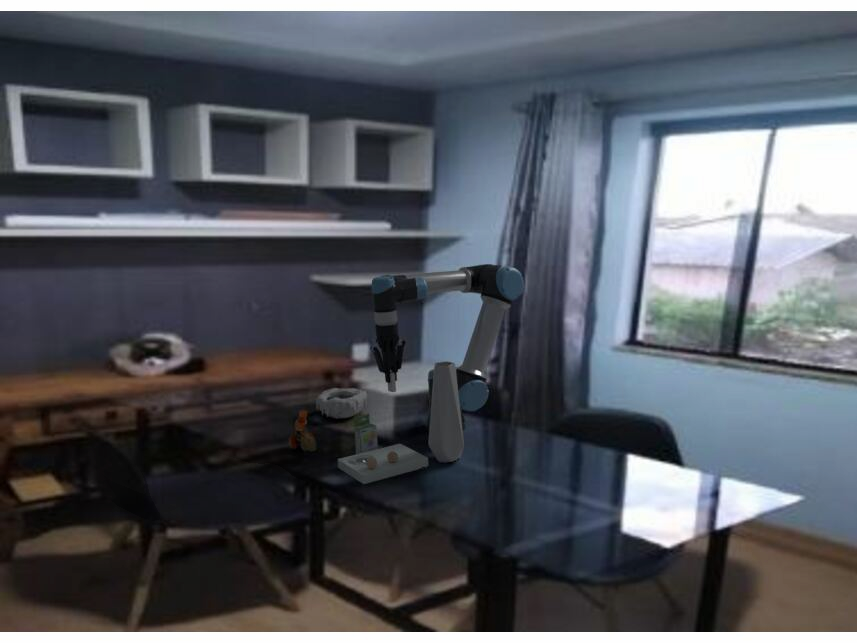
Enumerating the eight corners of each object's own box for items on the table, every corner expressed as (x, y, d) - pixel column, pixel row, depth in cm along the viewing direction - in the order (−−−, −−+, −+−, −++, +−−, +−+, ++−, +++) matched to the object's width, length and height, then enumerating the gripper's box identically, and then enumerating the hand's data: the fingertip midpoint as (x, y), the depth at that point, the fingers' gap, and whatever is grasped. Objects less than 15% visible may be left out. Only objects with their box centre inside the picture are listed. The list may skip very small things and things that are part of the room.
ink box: (362, 457, 267) (359, 420, 264) (355, 454, 270) (353, 417, 267) (378, 452, 271) (376, 415, 269) (371, 449, 274) (369, 413, 272)
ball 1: (374, 465, 250) (373, 455, 250) (379, 468, 248) (378, 458, 247) (364, 467, 249) (363, 457, 248) (369, 471, 246) (369, 460, 245)
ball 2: (394, 459, 255) (394, 449, 254) (400, 462, 252) (399, 452, 252) (385, 461, 253) (384, 451, 253) (390, 464, 250) (390, 454, 250)
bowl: (365, 423, 304) (364, 398, 302) (313, 425, 305) (311, 400, 303) (370, 407, 325) (368, 384, 323) (321, 409, 325) (319, 386, 323)
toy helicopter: (310, 442, 284) (307, 406, 282) (327, 460, 266) (324, 421, 263) (288, 446, 281) (285, 410, 279) (303, 464, 262) (300, 425, 260)
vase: (455, 468, 253) (451, 369, 247) (425, 462, 259) (420, 366, 253) (473, 456, 263) (470, 361, 257) (443, 451, 269) (440, 358, 263)
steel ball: (364, 457, 258) (355, 457, 256) (369, 460, 255) (360, 460, 253) (362, 468, 258) (353, 467, 256) (367, 471, 255) (358, 470, 253)
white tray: (400, 451, 271) (400, 443, 270) (428, 466, 256) (428, 457, 255) (338, 467, 258) (337, 459, 258) (363, 484, 243) (363, 475, 243)
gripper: (396, 318, 266) (402, 384, 270) (363, 325, 259) (370, 393, 263) (408, 321, 260) (414, 388, 264) (375, 328, 253) (381, 397, 257)
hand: (392, 391), depth 264 cm, fingers closed
